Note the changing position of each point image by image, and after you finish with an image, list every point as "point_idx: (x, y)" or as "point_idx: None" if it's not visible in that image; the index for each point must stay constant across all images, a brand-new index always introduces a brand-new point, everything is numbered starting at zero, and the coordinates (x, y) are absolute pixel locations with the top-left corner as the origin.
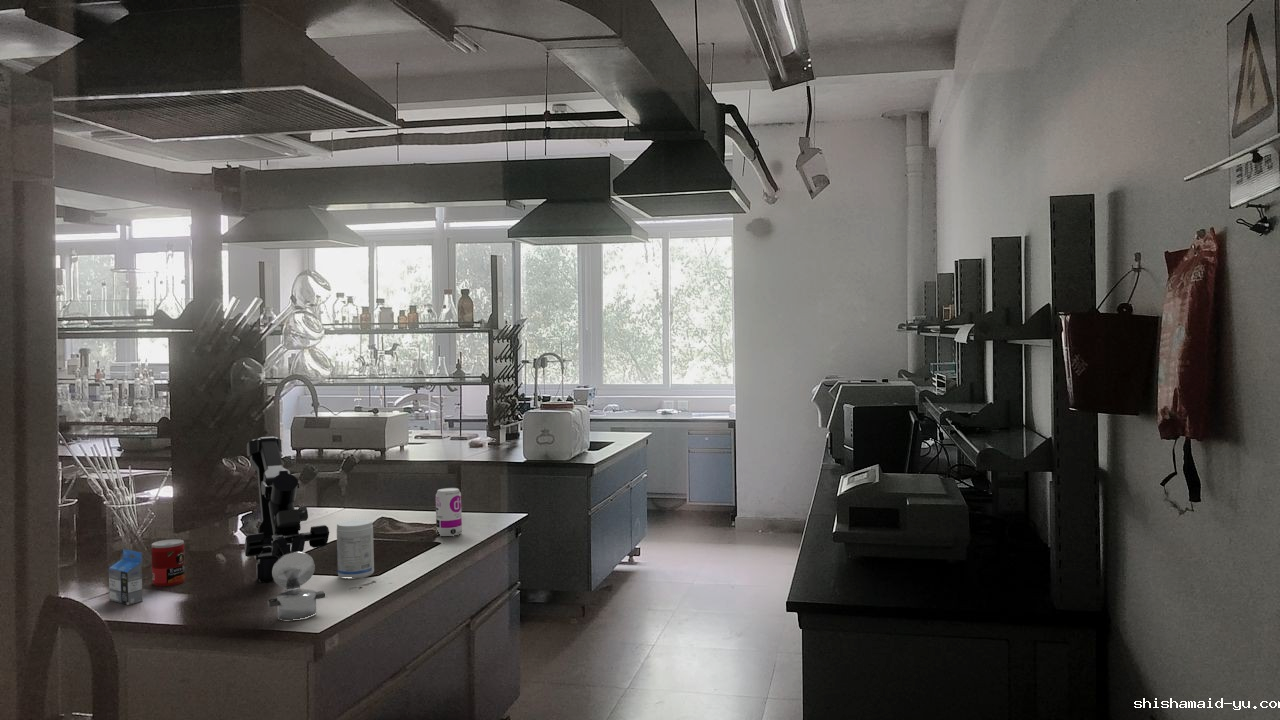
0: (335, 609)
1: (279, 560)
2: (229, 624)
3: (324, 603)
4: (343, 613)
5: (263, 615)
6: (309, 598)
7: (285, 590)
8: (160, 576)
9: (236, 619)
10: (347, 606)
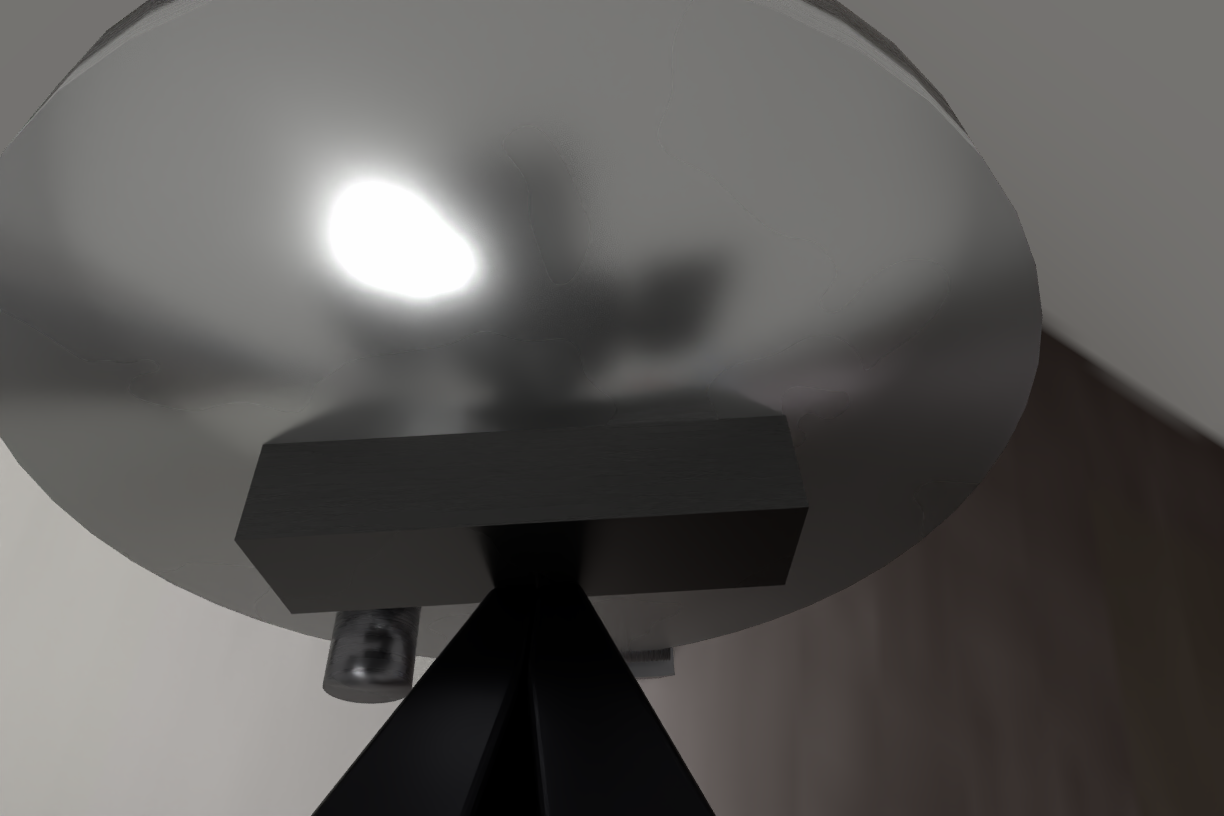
0: None
1: (937, 96)
2: (1189, 514)
3: (235, 760)
4: None
5: (886, 651)
6: None
7: (673, 673)
8: None
9: (1152, 658)
10: None
